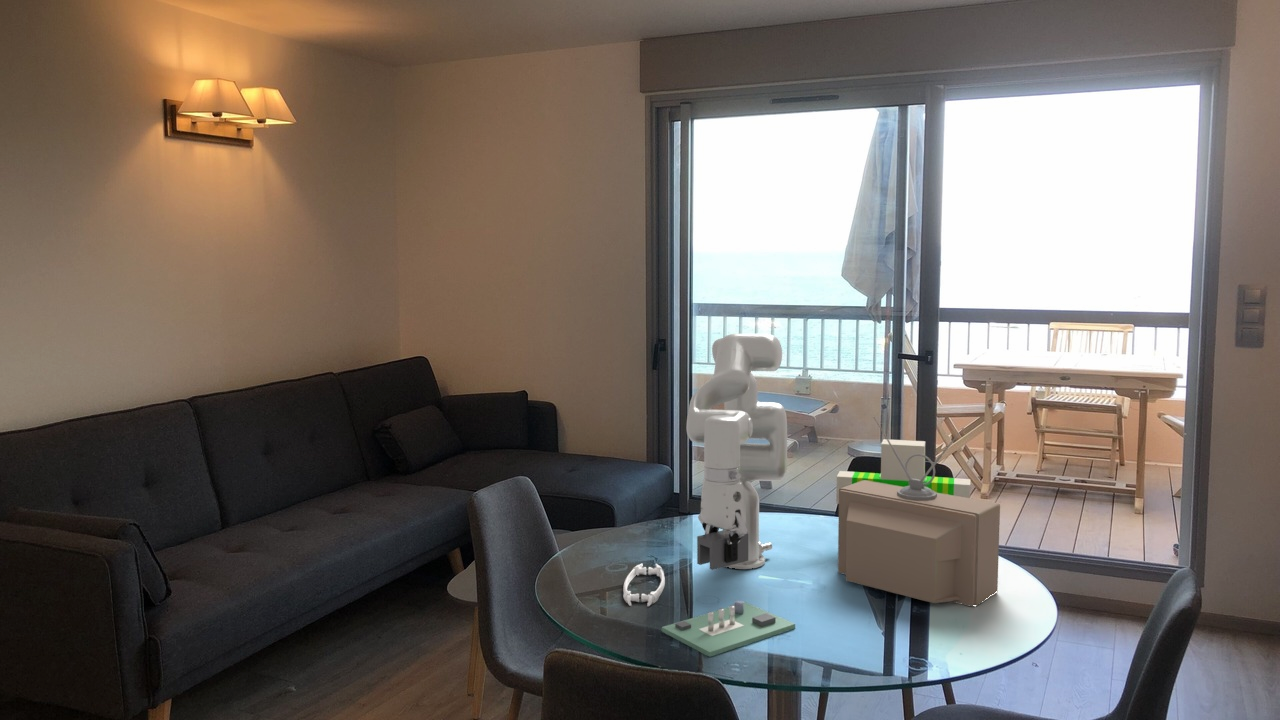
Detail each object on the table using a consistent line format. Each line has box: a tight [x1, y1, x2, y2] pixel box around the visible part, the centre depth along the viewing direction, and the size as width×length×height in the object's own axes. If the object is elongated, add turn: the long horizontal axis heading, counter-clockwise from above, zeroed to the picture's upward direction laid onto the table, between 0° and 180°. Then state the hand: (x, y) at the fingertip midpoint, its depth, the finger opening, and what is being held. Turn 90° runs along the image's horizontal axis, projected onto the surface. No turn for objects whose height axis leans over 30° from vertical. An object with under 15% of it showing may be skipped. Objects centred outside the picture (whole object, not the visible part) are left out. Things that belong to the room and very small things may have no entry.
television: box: [837, 417, 1001, 607], centre depth 224 cm, size 36×20×40 cm, turn 47°
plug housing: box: [696, 529, 748, 571], centre depth 199 cm, size 10×5×6 cm, turn 126°
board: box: [661, 600, 796, 658], centre depth 201 cm, size 24×16×3 cm, turn 126°
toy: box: [835, 438, 971, 505], centre depth 250 cm, size 34×7×30 cm, turn 71°
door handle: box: [622, 563, 666, 607], centre depth 227 cm, size 3×10×25 cm
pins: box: [707, 604, 735, 632], centre depth 199 cm, size 7×1×4 cm, turn 126°
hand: (722, 557), depth 199 cm, fingers closed on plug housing, 5 cm apart
